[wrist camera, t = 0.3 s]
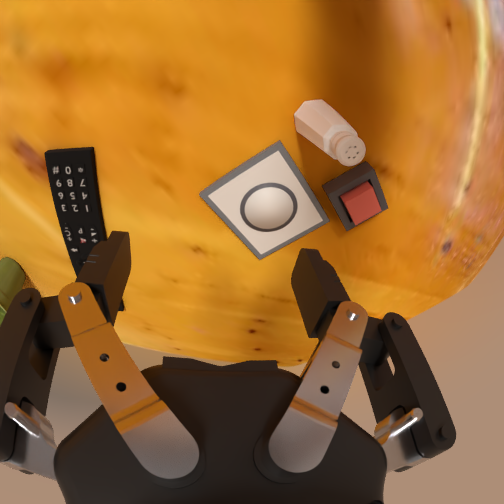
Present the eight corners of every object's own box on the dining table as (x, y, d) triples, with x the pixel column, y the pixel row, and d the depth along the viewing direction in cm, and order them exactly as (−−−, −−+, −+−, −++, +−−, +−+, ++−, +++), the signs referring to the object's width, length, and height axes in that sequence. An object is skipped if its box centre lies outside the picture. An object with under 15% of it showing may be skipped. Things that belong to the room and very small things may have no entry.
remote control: (91, 301, 48) (88, 309, 46) (49, 148, 27) (42, 154, 26) (125, 305, 49) (123, 314, 47) (95, 145, 28) (89, 151, 27)
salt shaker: (284, 112, 28) (309, 141, 20) (323, 90, 26) (366, 111, 18) (306, 148, 31) (337, 191, 23) (343, 127, 29) (387, 163, 21)
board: (279, 140, 30) (280, 142, 30) (328, 218, 38) (330, 222, 38) (199, 192, 34) (198, 196, 33) (259, 257, 42) (259, 261, 42)
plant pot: (24, 251, 37) (-3, 296, 29) (40, 292, 44) (22, 335, 36) (-13, 243, 34) (-39, 283, 26) (4, 283, 42) (-15, 321, 33)
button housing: (365, 161, 33) (374, 169, 31) (380, 198, 37) (388, 208, 35) (321, 185, 35) (327, 195, 33) (341, 220, 39) (346, 231, 37)
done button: (366, 180, 32) (372, 187, 31) (376, 203, 35) (381, 210, 33) (339, 195, 34) (344, 202, 32) (350, 217, 36) (355, 225, 35)
